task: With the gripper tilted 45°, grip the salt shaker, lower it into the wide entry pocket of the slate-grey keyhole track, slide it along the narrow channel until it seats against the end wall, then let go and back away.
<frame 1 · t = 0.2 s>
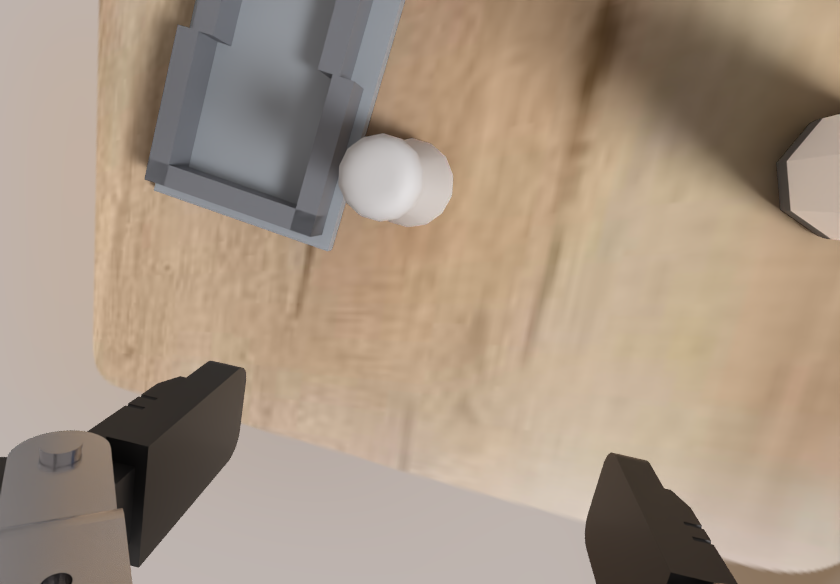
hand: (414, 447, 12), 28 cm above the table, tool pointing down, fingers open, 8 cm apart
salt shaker: (416, 184, 39), on the table
wine bottle: (837, 176, 35), on the table
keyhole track: (296, 22, 38), on the table
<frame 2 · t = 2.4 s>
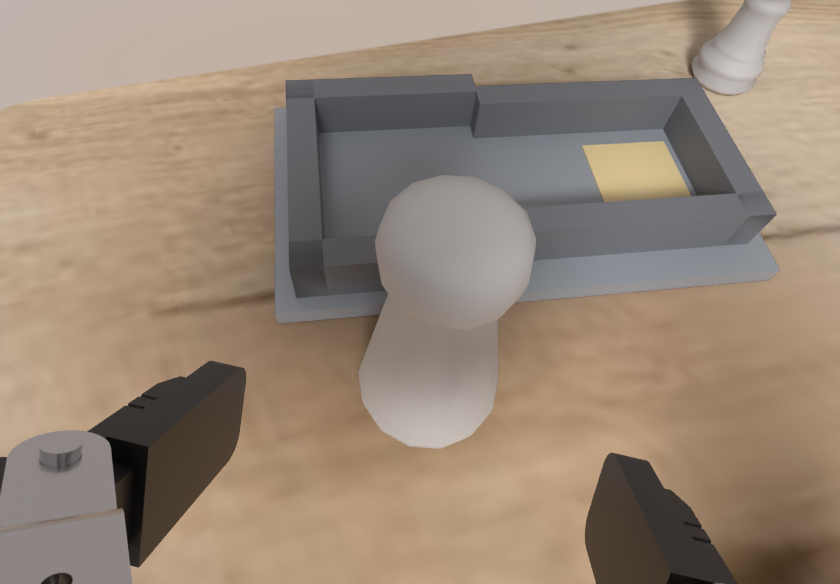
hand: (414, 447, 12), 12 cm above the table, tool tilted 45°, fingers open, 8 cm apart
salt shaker: (424, 399, 25), on the table
rook chess piece: (718, 80, 39), on the table
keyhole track: (533, 194, 32), on the table
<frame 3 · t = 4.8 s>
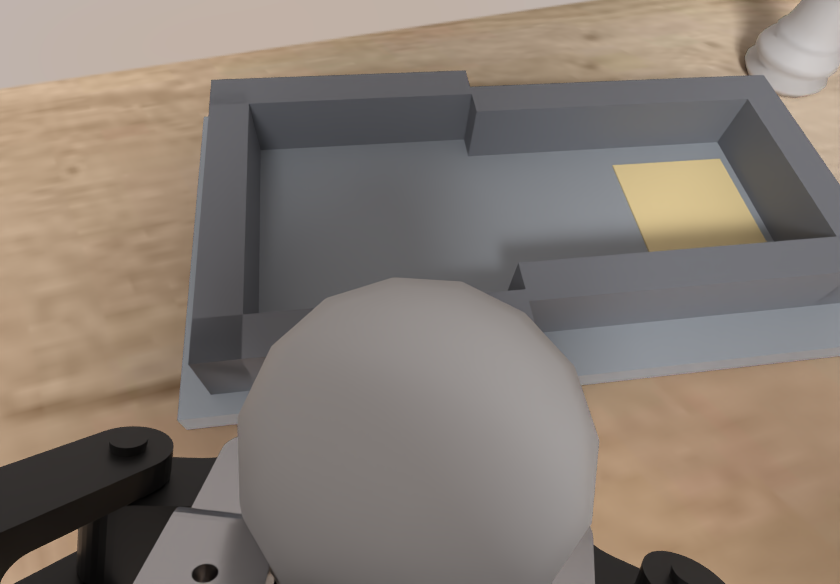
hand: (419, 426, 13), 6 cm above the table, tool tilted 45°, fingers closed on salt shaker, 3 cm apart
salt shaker: (394, 548, 17), on the table, touching gripper
rook chess piece: (778, 77, 31), on the table
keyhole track: (548, 231, 24), on the table
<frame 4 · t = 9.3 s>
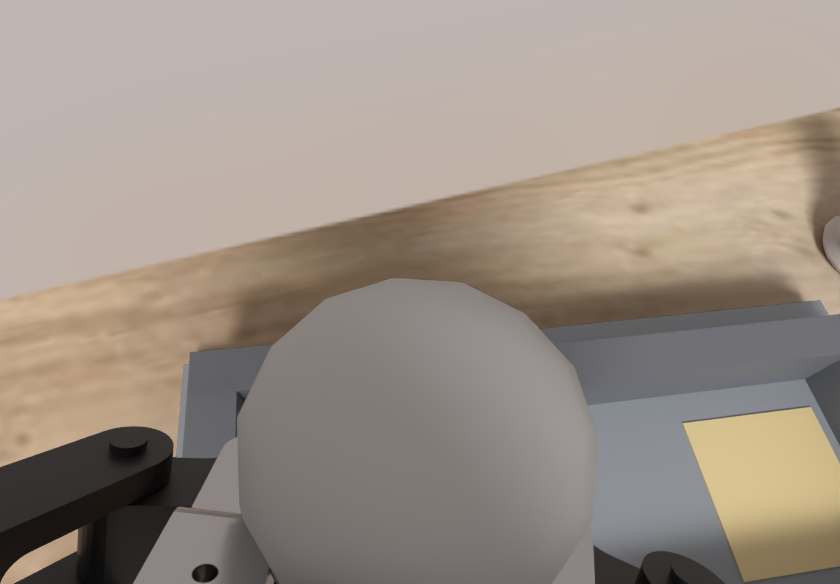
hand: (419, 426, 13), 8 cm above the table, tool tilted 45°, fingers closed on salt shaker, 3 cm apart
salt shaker: (394, 548, 17), point 1 cm above the table, touching gripper
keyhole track: (606, 515, 19), on the table
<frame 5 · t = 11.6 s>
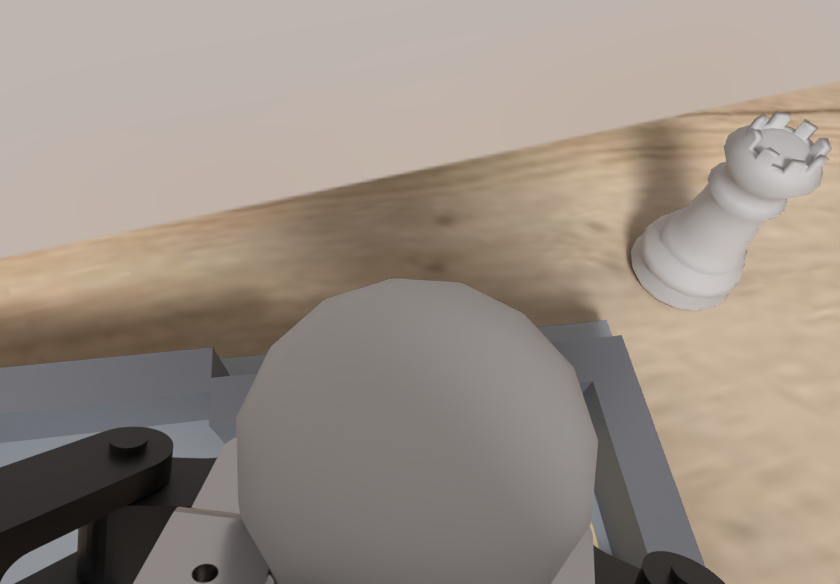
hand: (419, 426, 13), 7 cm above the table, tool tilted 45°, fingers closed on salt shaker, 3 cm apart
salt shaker: (393, 549, 17), point 1 cm above the table, touching gripper
rook chess piece: (673, 274, 25), on the table
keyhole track: (327, 558, 18), on the table
when the fingers open (7 cm above the table, at t = 13.6 s): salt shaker stays where it is, resting on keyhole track.
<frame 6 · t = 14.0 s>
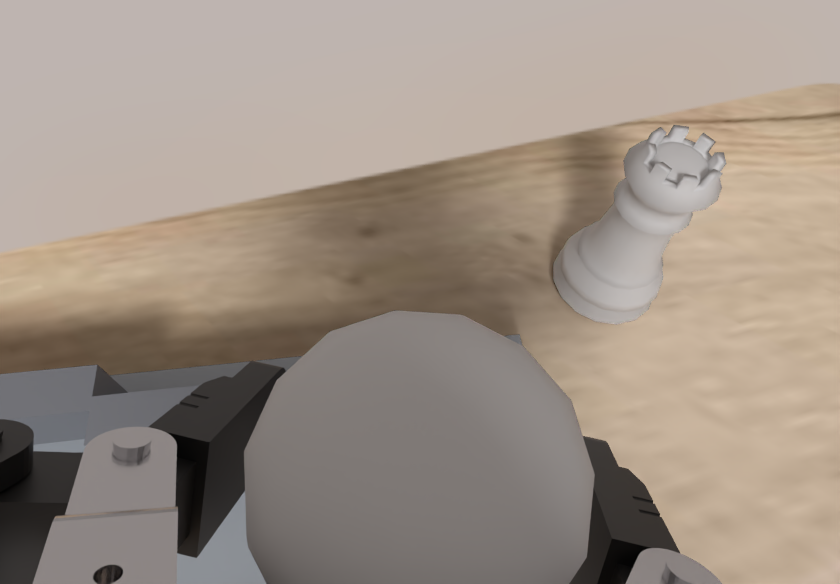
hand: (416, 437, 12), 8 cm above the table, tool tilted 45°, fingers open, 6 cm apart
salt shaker: (392, 557, 17), point 1 cm above the table, touching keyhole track
rook chess piece: (597, 287, 24), on the table
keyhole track: (214, 579, 17), on the table
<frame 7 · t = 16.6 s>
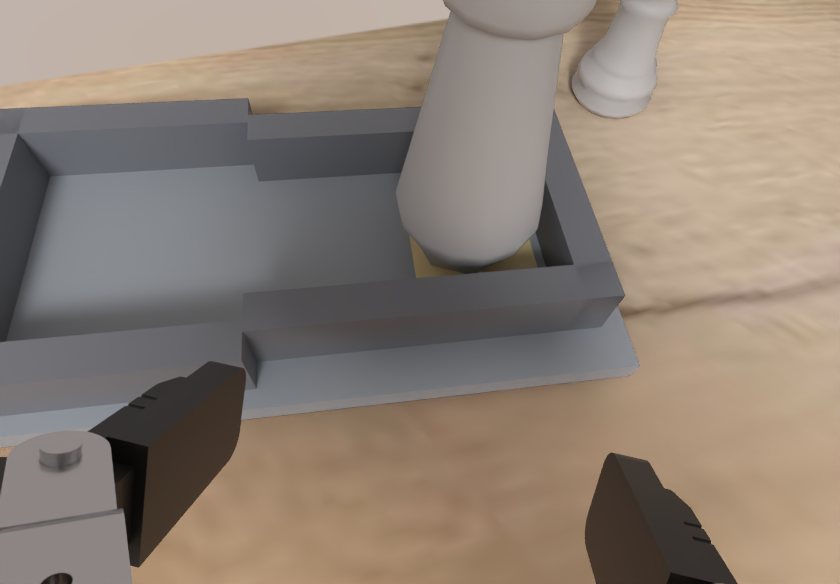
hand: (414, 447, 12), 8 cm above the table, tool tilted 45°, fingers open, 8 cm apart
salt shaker: (461, 238, 24), point 1 cm above the table, touching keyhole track
rook chess piece: (606, 98, 31), on the table
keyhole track: (332, 255, 24), on the table
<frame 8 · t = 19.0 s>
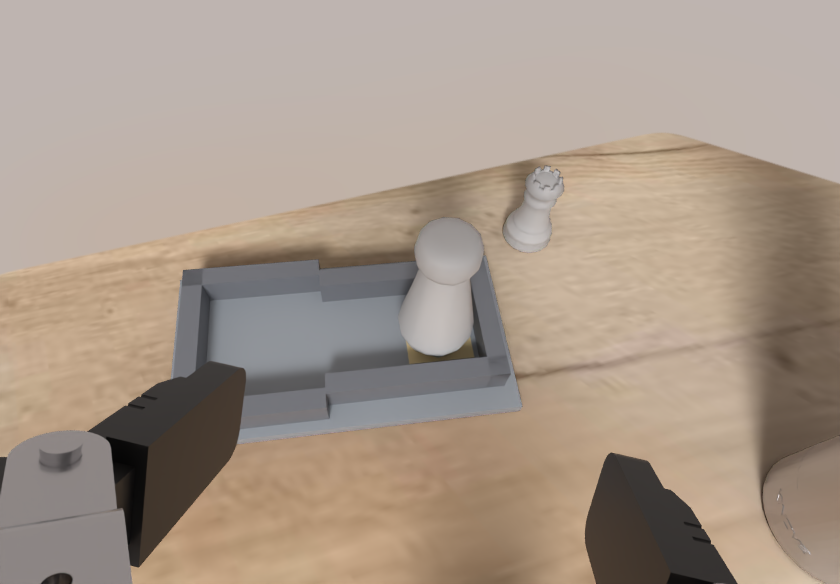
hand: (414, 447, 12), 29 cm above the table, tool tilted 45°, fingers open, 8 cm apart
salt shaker: (433, 334, 44), point 1 cm above the table, touching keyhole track
rook chess piece: (524, 237, 51), on the table
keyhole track: (363, 344, 44), on the table
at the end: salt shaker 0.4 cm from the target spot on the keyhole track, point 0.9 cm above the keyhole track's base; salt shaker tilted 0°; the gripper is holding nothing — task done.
